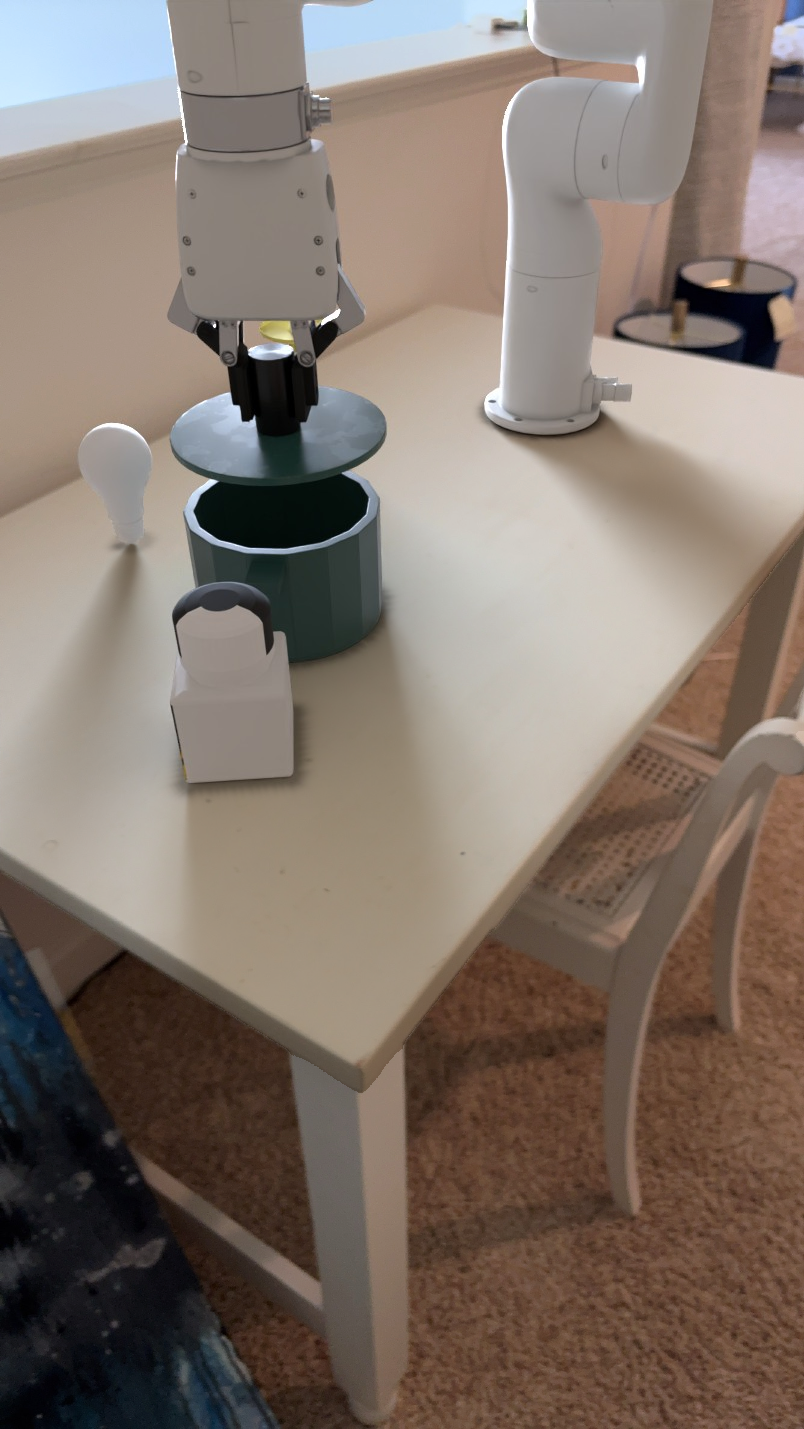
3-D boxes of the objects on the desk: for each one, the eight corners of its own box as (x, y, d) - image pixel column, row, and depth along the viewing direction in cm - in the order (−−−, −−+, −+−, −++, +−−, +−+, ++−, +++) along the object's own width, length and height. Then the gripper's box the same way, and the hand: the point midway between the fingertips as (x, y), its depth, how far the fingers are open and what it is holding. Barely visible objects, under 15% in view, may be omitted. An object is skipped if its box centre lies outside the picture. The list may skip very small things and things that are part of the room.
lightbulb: (107, 566, 88) (80, 448, 81) (90, 535, 92) (63, 420, 85) (175, 549, 90) (155, 432, 83) (155, 519, 94) (134, 406, 87)
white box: (193, 716, 72) (166, 572, 64) (293, 710, 73) (278, 566, 65) (185, 785, 67) (155, 637, 59) (293, 778, 67) (277, 630, 59)
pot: (389, 548, 90) (388, 448, 84) (370, 687, 75) (366, 577, 68) (227, 544, 91) (214, 445, 85) (175, 681, 75) (154, 572, 69)
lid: (394, 398, 79) (392, 311, 75) (378, 496, 67) (374, 399, 63) (197, 397, 80) (184, 311, 76) (148, 493, 68) (129, 397, 64)
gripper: (388, 107, 63) (395, 393, 75) (128, 110, 64) (176, 392, 76) (378, 133, 57) (388, 438, 69) (93, 136, 58) (151, 436, 70)
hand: (277, 411), depth 72 cm, fingers closed on lid, 3 cm apart
